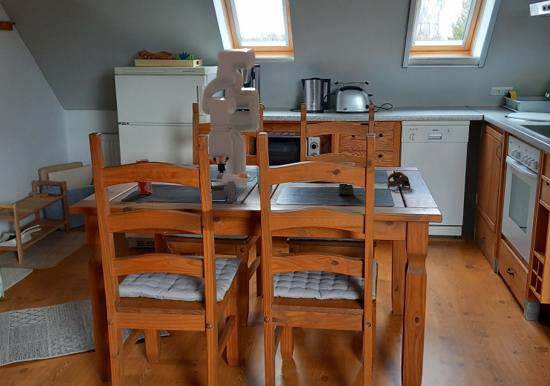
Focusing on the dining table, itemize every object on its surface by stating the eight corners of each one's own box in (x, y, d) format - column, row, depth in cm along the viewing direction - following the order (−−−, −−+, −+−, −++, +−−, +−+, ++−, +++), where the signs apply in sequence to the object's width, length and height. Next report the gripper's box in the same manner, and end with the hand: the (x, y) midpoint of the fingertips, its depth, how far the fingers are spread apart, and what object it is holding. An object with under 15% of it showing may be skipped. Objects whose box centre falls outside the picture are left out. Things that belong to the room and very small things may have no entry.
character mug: (354, 197, 237) (354, 166, 234) (336, 197, 238) (336, 166, 235) (354, 191, 247) (354, 161, 244) (337, 191, 248) (337, 161, 245)
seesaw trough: (217, 175, 247) (218, 167, 246) (249, 179, 248) (249, 171, 247) (215, 182, 234) (216, 173, 234) (248, 185, 235) (249, 177, 234)
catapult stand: (229, 194, 246) (228, 175, 244) (237, 194, 246) (236, 174, 245) (227, 203, 233) (226, 182, 231) (236, 202, 233) (235, 182, 231)
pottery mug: (415, 191, 248) (408, 176, 244) (395, 201, 249) (388, 186, 245) (406, 178, 258) (399, 163, 255) (386, 188, 260) (380, 173, 256)
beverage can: (144, 196, 247) (142, 161, 244) (134, 194, 251) (132, 160, 248) (155, 193, 252) (153, 159, 249) (145, 191, 256) (143, 158, 252)
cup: (210, 196, 244) (209, 178, 242) (226, 196, 244) (225, 177, 242) (208, 202, 235) (207, 182, 233) (225, 201, 235) (224, 182, 233)
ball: (238, 179, 240) (239, 170, 239) (246, 180, 240) (248, 172, 239) (237, 180, 236) (239, 172, 235) (246, 182, 236) (247, 174, 236)
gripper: (238, 127, 244) (239, 170, 248) (202, 128, 244) (204, 171, 248) (237, 129, 237) (239, 174, 241) (200, 130, 236) (202, 174, 240)
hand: (221, 172), depth 244 cm, fingers closed
